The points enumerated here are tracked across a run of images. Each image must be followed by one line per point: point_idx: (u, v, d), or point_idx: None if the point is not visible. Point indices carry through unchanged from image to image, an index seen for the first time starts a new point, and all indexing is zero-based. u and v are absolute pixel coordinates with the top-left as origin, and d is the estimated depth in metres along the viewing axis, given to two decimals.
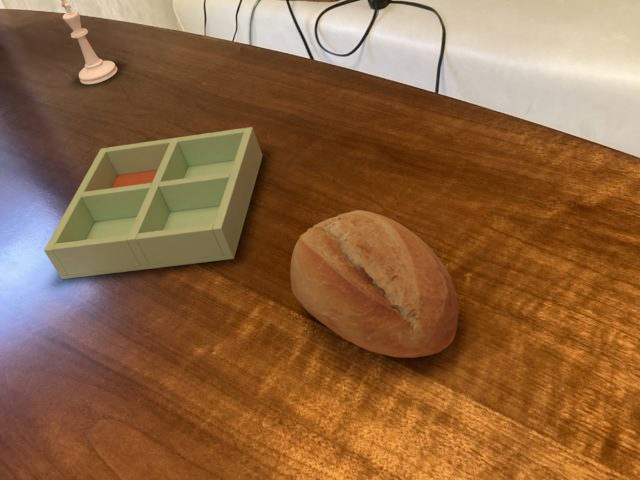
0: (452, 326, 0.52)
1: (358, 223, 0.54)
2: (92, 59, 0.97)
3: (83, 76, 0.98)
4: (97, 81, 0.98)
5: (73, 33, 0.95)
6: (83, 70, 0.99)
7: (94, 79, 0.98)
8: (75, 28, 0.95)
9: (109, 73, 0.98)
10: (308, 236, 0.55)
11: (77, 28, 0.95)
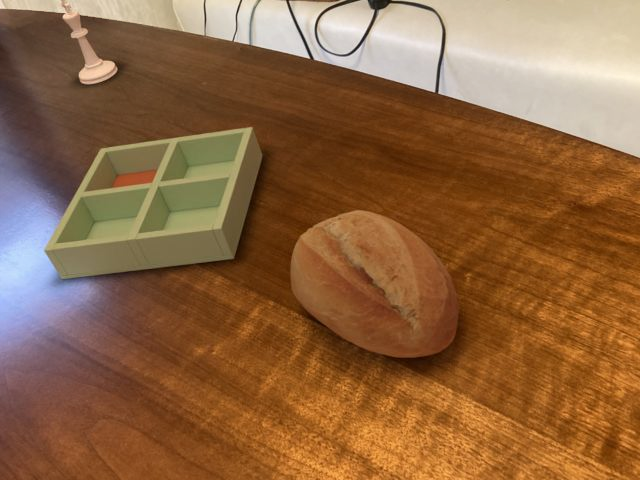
0: (452, 326, 0.52)
1: (358, 223, 0.54)
2: (92, 59, 0.97)
3: (83, 76, 0.98)
4: (97, 81, 0.98)
5: (73, 33, 0.95)
6: (83, 70, 0.99)
7: (94, 79, 0.98)
8: (75, 28, 0.95)
9: (109, 73, 0.98)
10: (308, 236, 0.55)
11: (77, 28, 0.95)
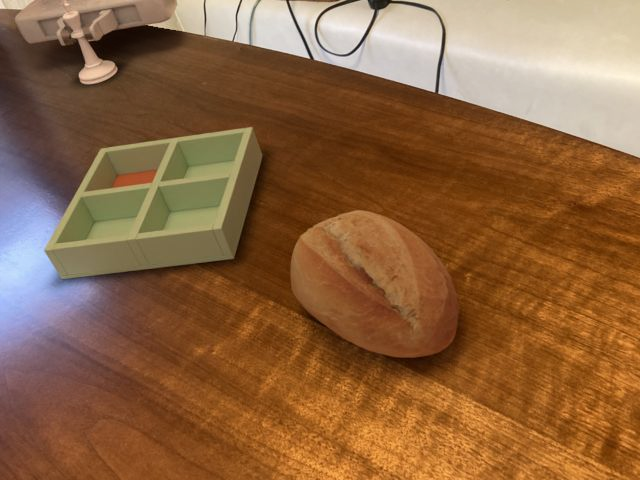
0: (452, 326, 0.52)
1: (358, 223, 0.54)
2: (92, 59, 0.97)
3: (83, 76, 0.98)
4: (97, 81, 0.98)
5: (73, 33, 0.95)
6: (83, 70, 0.99)
7: (94, 79, 0.98)
8: (75, 28, 0.95)
9: (109, 73, 0.98)
10: (308, 236, 0.55)
11: (77, 28, 0.95)
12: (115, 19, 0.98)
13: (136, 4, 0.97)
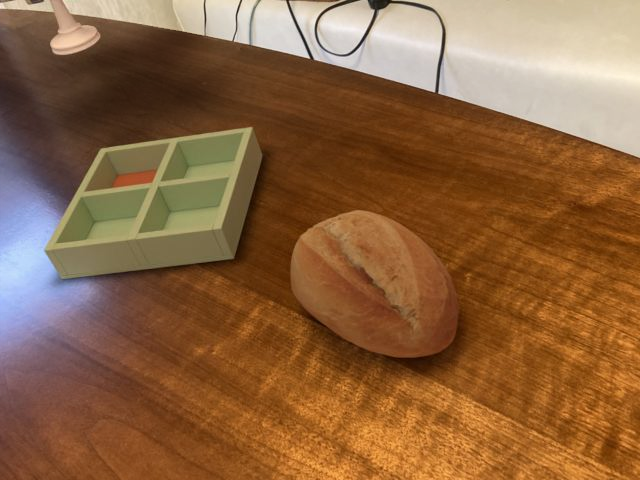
0: (452, 326, 0.52)
1: (358, 223, 0.54)
2: (67, 22, 0.76)
3: (56, 44, 0.76)
4: (74, 51, 0.76)
5: None
6: (56, 37, 0.77)
7: (70, 48, 0.76)
8: None
9: (89, 40, 0.76)
10: (308, 236, 0.55)
11: None
12: None
13: None
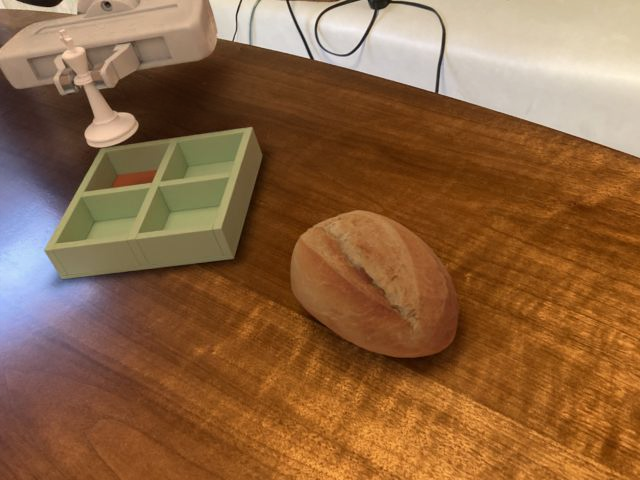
0: (452, 326, 0.52)
1: (358, 223, 0.54)
2: (103, 113, 0.70)
3: (91, 136, 0.70)
4: (111, 143, 0.70)
5: (77, 78, 0.68)
6: (91, 127, 0.71)
7: (107, 141, 0.70)
8: (80, 71, 0.67)
9: (127, 132, 0.70)
10: (308, 236, 0.55)
11: (83, 71, 0.67)
12: (135, 56, 0.70)
13: (165, 36, 0.69)
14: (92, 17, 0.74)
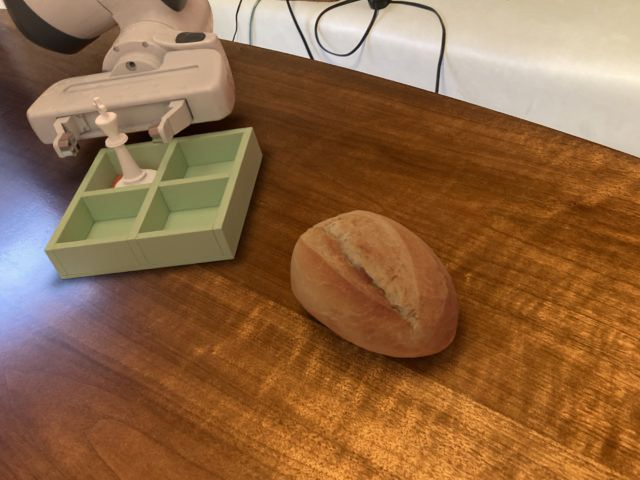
0: (452, 326, 0.52)
1: (358, 223, 0.54)
2: (132, 172, 0.74)
3: None
4: None
5: (108, 141, 0.72)
6: (120, 184, 0.75)
7: None
8: (112, 135, 0.71)
9: None
10: (308, 236, 0.55)
11: (114, 135, 0.72)
12: (189, 112, 0.74)
13: (187, 98, 0.73)
14: (117, 75, 0.78)
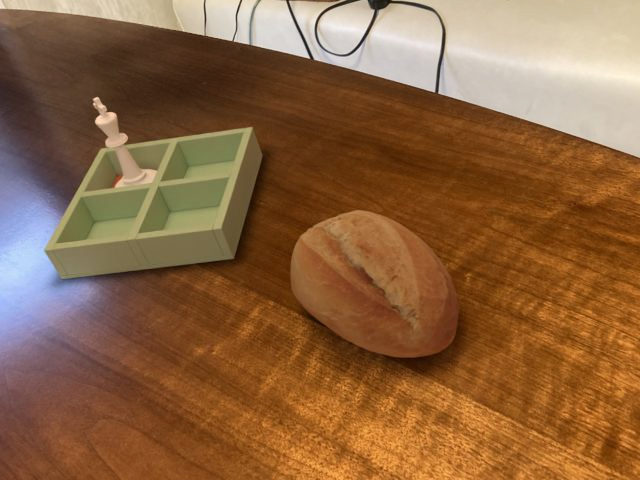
0: (452, 326, 0.52)
1: (358, 223, 0.54)
2: (132, 172, 0.74)
3: None
4: None
5: (108, 141, 0.72)
6: (120, 184, 0.75)
7: None
8: (112, 135, 0.71)
9: None
10: (308, 236, 0.55)
11: (114, 135, 0.72)
12: None
13: None
14: None
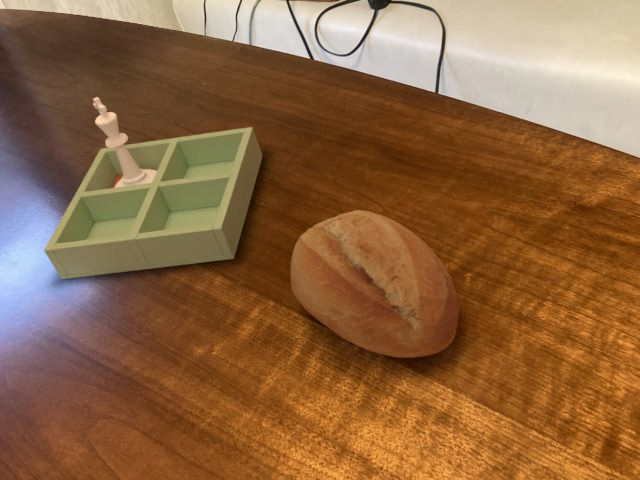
0: (452, 326, 0.52)
1: (358, 223, 0.54)
2: (132, 172, 0.74)
3: None
4: None
5: (108, 141, 0.72)
6: (120, 184, 0.75)
7: None
8: (112, 135, 0.71)
9: None
10: (308, 236, 0.55)
11: (114, 135, 0.72)
12: None
13: None
14: None
